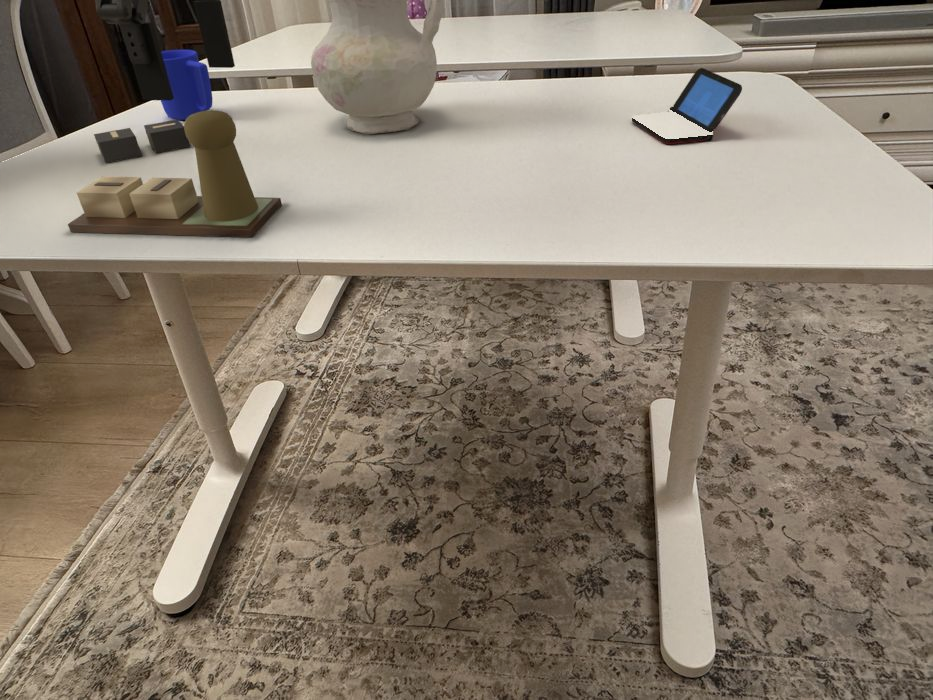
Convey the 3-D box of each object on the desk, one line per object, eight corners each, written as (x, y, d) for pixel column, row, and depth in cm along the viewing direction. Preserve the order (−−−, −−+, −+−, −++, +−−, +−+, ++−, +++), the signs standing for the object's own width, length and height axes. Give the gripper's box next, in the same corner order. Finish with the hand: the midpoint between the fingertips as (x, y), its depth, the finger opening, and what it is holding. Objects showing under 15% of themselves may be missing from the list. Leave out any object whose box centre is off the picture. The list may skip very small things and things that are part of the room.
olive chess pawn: (237, 224, 71) (211, 122, 65) (192, 217, 73) (163, 118, 67) (268, 203, 76) (247, 106, 69) (226, 198, 78) (201, 103, 71)
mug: (198, 128, 106) (180, 63, 100) (153, 119, 112) (134, 57, 106) (237, 115, 112) (222, 53, 106) (192, 107, 117) (176, 47, 111)
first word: (101, 154, 97) (93, 133, 95) (183, 138, 102) (177, 118, 100) (105, 163, 93) (97, 141, 91) (190, 146, 98) (184, 126, 96)
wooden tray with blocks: (70, 232, 74) (56, 198, 71) (115, 201, 81) (103, 169, 79) (252, 237, 71) (243, 202, 68) (282, 205, 78) (275, 172, 76)
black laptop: (628, 122, 101) (634, 71, 97) (692, 116, 103) (700, 66, 98) (664, 146, 91) (672, 91, 87) (734, 139, 93) (745, 85, 88)
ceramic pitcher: (464, 116, 111) (460, -55, 98) (440, 142, 94) (431, -59, 82) (344, 115, 114) (325, -51, 102) (301, 140, 98) (272, -53, 85)
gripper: (72, -205, 43) (164, 117, 56) (231, -176, 64) (273, 56, 76) (-28, -200, 44) (85, 115, 57) (160, -173, 64) (213, 55, 77)
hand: (193, 82), depth 66 cm, fingers open, 13 cm apart
